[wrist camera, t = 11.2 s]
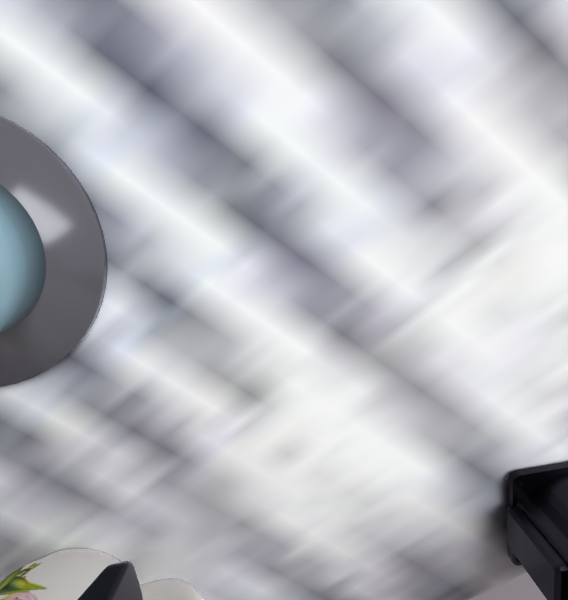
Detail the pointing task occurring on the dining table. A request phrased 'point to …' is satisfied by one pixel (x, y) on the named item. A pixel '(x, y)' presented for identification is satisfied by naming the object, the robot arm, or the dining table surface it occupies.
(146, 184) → the dining table surface
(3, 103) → the dining table surface
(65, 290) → the tiered round stand
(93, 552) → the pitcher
